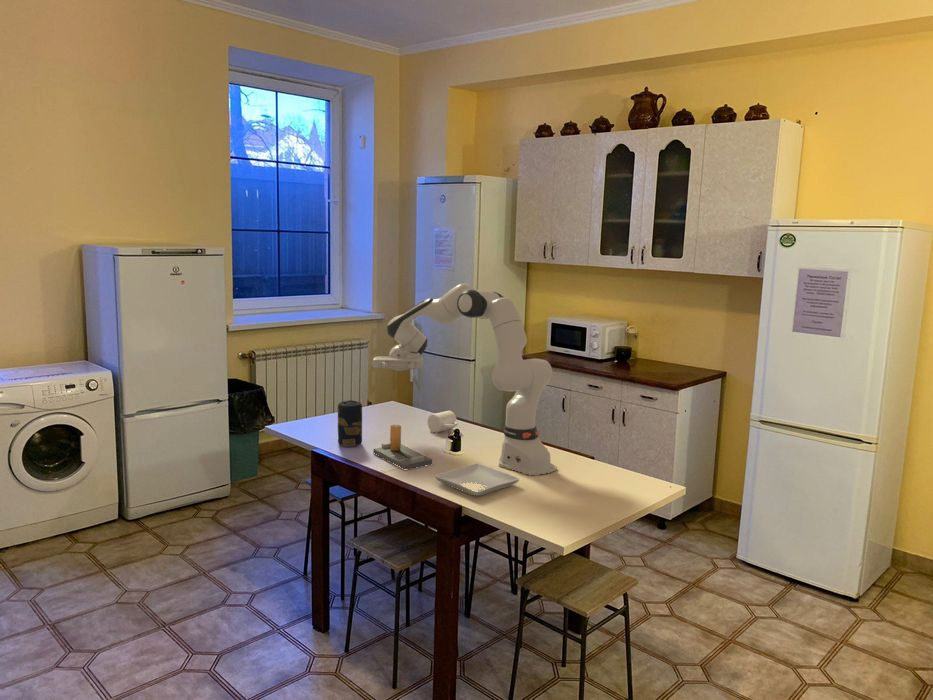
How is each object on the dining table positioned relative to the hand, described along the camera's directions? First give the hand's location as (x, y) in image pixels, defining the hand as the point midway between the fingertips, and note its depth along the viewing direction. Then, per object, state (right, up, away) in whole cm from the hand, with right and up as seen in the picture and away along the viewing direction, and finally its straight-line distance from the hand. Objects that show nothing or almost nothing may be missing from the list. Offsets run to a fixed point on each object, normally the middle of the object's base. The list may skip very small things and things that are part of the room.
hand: (397, 366), depth 276 cm
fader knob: (0, -31, -7) cm, 32 cm away
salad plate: (+30, -40, -34) cm, 61 cm away
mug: (+18, -29, +27) cm, 43 cm away
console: (+3, -34, -10) cm, 36 cm away
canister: (-19, -31, +5) cm, 37 cm away
